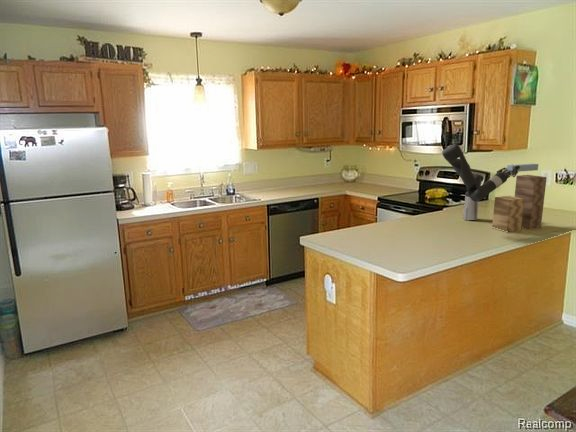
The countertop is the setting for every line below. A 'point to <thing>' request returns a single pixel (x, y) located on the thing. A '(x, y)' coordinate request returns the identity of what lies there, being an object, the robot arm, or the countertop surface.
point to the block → (508, 213)
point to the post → (531, 199)
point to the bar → (523, 167)
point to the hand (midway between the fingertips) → (516, 166)
